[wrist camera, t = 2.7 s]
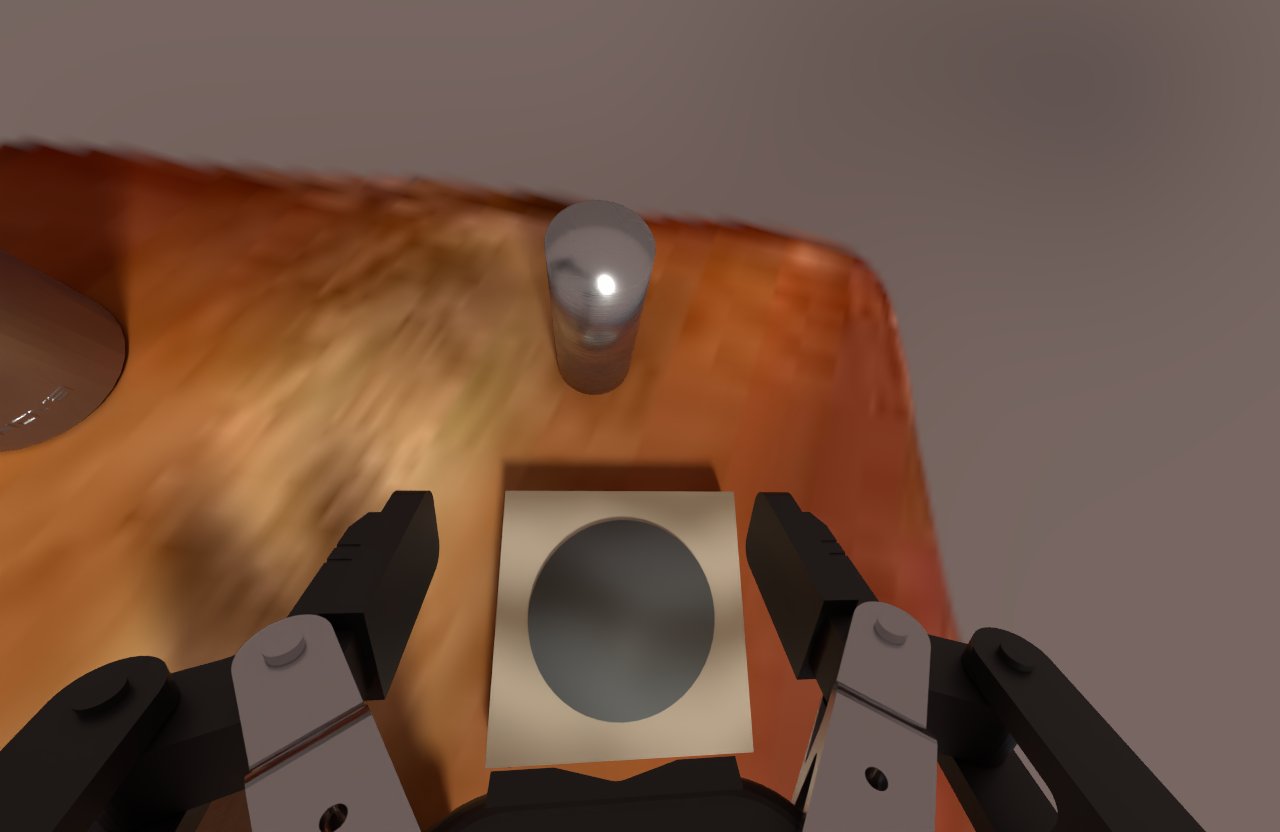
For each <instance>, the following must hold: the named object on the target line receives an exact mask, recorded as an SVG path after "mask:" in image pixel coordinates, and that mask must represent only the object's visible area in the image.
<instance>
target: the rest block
mask: <svg viewBox="0 0 1280 832" xmlns="http://www.w3.org/2000/svg"><path fill="white" fill-rule="evenodd" d="M746 752H753V739H752V725H751V712H750V699H749V686H748V673H747V660H746V647H745V634H744V621H743V608H742V595H741V582H740V569H739V556H738V543H737V529H736V516H735V503H734V492H685V491H505V505H504V518H503V532H502V546H501V559H500V573H499V586H498V600H497V613H496V627H495V640H494V654H493V668H492V681H491V695H490V708H489V722H488V735H487V749H486V763H485V768H501V767H518V766H534V765H550V764H567V763H583V762H599V761H616V760H632V759H648V758H665V757H681V756H697V755H714V754H730V753H746Z"/></svg>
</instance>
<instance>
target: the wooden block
mask: <svg viewBox="0 0 1280 832" xmlns="http://www.w3.org/2000/svg"><path fill="white" fill-rule="evenodd" d="M195 832H252V827H251V821H250V815H249V810H248V804H247V798H246V792H245V790H242V791H239V792H236V793H234V794H231V795H228V796H225V797H223V798H220V799H217V800H214V801H212V802H211V804H210V806H209V808H208V810H207V811H206V813H205V815H204V817H203V819H202V820H201V822H200V824H199V826H198V828H197V830H196V831H195Z"/></svg>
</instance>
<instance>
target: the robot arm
mask: <svg viewBox="0 0 1280 832" xmlns="http://www.w3.org/2000/svg"><path fill="white" fill-rule="evenodd" d="M124 359H125V339H124V336H123V333H122V330H121V327H120V325H119V324H118V322H117V321H116V319H115V318H114V316H113V315H112V314H111V313H110V312H109V311H107V310H106V309H105V308H104V307H103V306H101V305H100V304H98V303H96V302H95V301H93V300H91V299H89V298H87V297H86V296H84V295H82V294H80V293H79V292H77V291H75V290H73V289H71V288H70V287H68V286H66V285H64V284H62V283H61V282H59V281H57V280H55V279H53V278H52V277H50V276H48V275H46V274H45V273H43V272H41V271H39V270H37V269H36V268H34V267H32V266H30V265H28V264H27V263H25V262H23V261H22V260H20V259H18V258H16V257H15V256H13V255H11V254H9V253H8V252H6V251H4V250H2V249H0V452H2V451H10V450H18V449H21V448H25V447H28V446H32V445H35V444H39V443H42V442H44V441H46V440H49V439H51V438H53V437H55V436H57V435H60V434H62V433H64V432H65V431H67V430H68V429H70V428H71V427H73V426H75V425H76V424H78V423H79V422H81V421H82V420H84V419H85V418H86V417H87V416H88V415H89V414H90V413H91V412H93V411H94V410H95V409H96V408H97V407H98V406H99V405H100V404H101V403H102V401H103V400H104V399H105V398H106V396H107V395H108V394H109V393H110V391H111V390H112V389H113V387H114V385H115V383H116V381H117V379H118V377H119V375H120V373H121V370H122V366H123V362H124ZM836 541H837V540H836V539H835V537H834V536H833V534H832V533H831V532H830V530H829V529H828V527H827V526H826V525H825V524H824V523H823V522H821V521H820V520H819V519H818V518H816V517H815V516H814V515H812V514H811V513H810V512H802V511H801V509H800V508H799V506H798V505H797V503H796V502H795V500H794V498H793V497H792V496H791V494H790V493H788V492H759V493H758V494H757V496H756V498H755V502H754V507H753V511H752V516H751V520H750V525H749V529H748V534H747V538H746V556H747V561H748V564H749V566H750V569H751V571H752V574H753V576H754V578H755V581H756V583H757V585H758V588H759V590H760V593H761V595H762V597H763V600H764V602H765V604H766V607H767V609H768V612H769V614H770V616H771V619H772V621H773V624H774V626H775V628H776V631H777V633H778V635H779V638H780V640H781V643H782V645H783V647H784V650H785V652H786V655H787V657H788V659H789V662H790V664H791V666H792V669H793V671H794V674H795V676H796V678H797V680H801V679H816V680H817V682H818V684H819V686H820V689H821V691H822V693H823V694H822V697H821V700H820V703H819V707H818V710H817V714H816V717H815V721H814V725H813V728H812V732H811V735H810V739H809V743H808V746H807V750H806V753H805V757H804V761H803V764H802V768H801V771H800V775H799V778H798V781H797V784H796V787H795V790H794V793H793V796H792V799H791V802H790V801H789V800H787V799H786V798H784V797H783V796H781V795H780V794H778V793H777V792H775V791H773V790H771V789H769V788H767V787H765V786H764V785H762V784H759V783H756V782H754V781H751V780H748V779H745V778H741V777H740V774H739V770H738V766H737V762H736V758H735V756H729V757H713V758H697V759H682V760H676V761H673V762H671V763H668V764H665V765H663V766H660V767H657V768H655V769H652V770H649V771H647V772H644V773H641V774H639V775H636V776H634V777H631V778H628V779H626V780H622V781H609V780H605V779H601V778H596V777H592V776H588V775H583V774H579V773H575V772H570V771H566V770H562V769H558V768H540V769H525V770H509V771H493V772H491V774H490V781H489V787H488V793H487V794H485V795H483V796H480V797H477V798H475V799H473V800H471V801H469V802H467V803H465V804H463V805H461V806H459V807H458V808H456V809H455V810H453V811H452V812H450V813H449V814H447V815H446V816H444V817H443V818H442V819H440V820H439V821H438V822H437V823H435V824H434V825H433V826H432V827H430V828H429V829H428V830H427V831H426V832H935V803H936V775H937V761H938V763H939V765H940V767H941V769H942V771H943V772H944V774H945V776H946V778H947V780H948V782H949V783H950V785H951V787H952V789H953V791H954V792H955V794H956V796H957V798H958V800H959V802H960V803H961V805H962V807H963V809H964V811H965V812H966V814H967V816H968V818H969V820H970V822H971V823H972V825H973V827H974V829H975V831H976V832H1206V831H1205V830H1204V829H1203V828H1202V827H1201V826H1200V825H1199V824H1198V823H1197V822H1196V820H1195V819H1194V818H1193V817H1192V816H1191V815H1190V814H1189V813H1188V812H1187V811H1186V809H1184V807H1183V806H1182V805H1181V804H1180V803H1179V802H1178V801H1177V799H1176V798H1175V797H1174V796H1173V795H1172V794H1171V793H1170V792H1169V790H1168V789H1167V788H1166V787H1165V786H1164V785H1163V784H1162V783H1161V782H1160V781H1159V780H1158V778H1157V777H1156V776H1155V775H1154V774H1153V773H1152V772H1151V771H1150V769H1149V768H1148V767H1147V766H1146V765H1145V764H1144V763H1143V762H1142V761H1141V759H1139V757H1138V756H1137V755H1136V754H1135V753H1134V752H1133V751H1132V750H1131V748H1130V747H1129V746H1128V745H1127V744H1126V743H1125V742H1124V741H1123V740H1122V738H1121V737H1120V736H1119V735H1118V734H1117V733H1116V732H1115V731H1114V730H1113V728H1112V727H1111V726H1110V725H1109V724H1108V723H1107V722H1106V721H1105V720H1104V718H1103V717H1102V716H1101V715H1100V714H1099V713H1098V712H1097V711H1096V710H1095V709H1094V708H1093V706H1092V705H1091V704H1090V703H1089V702H1088V701H1087V700H1086V699H1085V698H1084V696H1083V695H1082V694H1081V693H1080V692H1079V691H1078V690H1077V689H1076V687H1075V686H1074V685H1073V684H1072V683H1071V682H1070V681H1069V680H1068V679H1067V678H1066V676H1065V675H1064V674H1063V673H1062V672H1061V671H1060V670H1059V669H1058V668H1057V667H1056V665H1055V664H1054V663H1053V662H1052V661H1051V660H1050V659H1049V658H1048V657H1047V656H1046V655H1045V654H1044V653H1043V652H1042V651H1041V650H1040V649H1038V648H1037V647H1035V646H1034V645H1033V644H1031V643H1030V642H1028V641H1026V640H1025V639H1023V638H1022V637H1020V636H1018V635H1016V634H1013V633H1011V632H1008V631H1005V630H1002V629H998V628H990V627H988V628H981V629H979V630H977V631H976V632H975V633H974V634H973V636H972V638H971V640H970V641H969V643H968V644H965V643H961V642H957V641H953V640H949V639H945V638H941V637H936V636H932V635H928V634H927V633H926V631H925V630H924V628H923V627H922V626H921V625H920V624H919V623H918V622H917V621H916V620H915V619H914V618H913V617H912V616H910V615H909V614H908V613H906V612H904V611H903V610H901V609H899V608H897V607H895V606H892V605H890V604H886V603H882V602H879V601H878V599H877V598H876V597H875V595H874V594H873V592H872V591H871V589H870V588H869V586H868V585H867V584H866V582H865V581H864V579H863V578H862V576H861V575H860V573H859V572H858V571H857V569H856V568H855V566H854V565H853V563H852V562H851V560H850V559H849V558H848V556H845V552H844V550H843V549H842V547H841V546H840V545H839V543H837V542H836ZM438 557H439V537H438V529H437V522H436V515H435V507H434V500H433V495H432V493H431V492H430V491H395V492H394V493H393V494H392V495H391V497H390V499H389V500H388V502H387V503H386V505H385V507H384V508H383V510H382V511H381V512H369V513H367V514H366V515H365V516H363V517H362V518H360V519H359V520H358V521H356V522H355V523H354V524H352V525H351V526H350V527H349V528H348V529H347V531H346V532H345V534H344V535H343V536H342V538H341V539H340V541H339V542H338V544H337V548H334V550H333V551H332V553H331V554H330V555H329V557H328V558H327V563H324V564H323V566H322V567H321V569H320V570H319V571H318V573H317V574H316V576H315V577H314V579H313V580H312V582H311V583H310V585H309V586H308V587H307V589H306V590H305V592H304V593H303V595H302V596H301V598H300V599H299V601H298V602H297V603H296V605H295V606H294V608H293V609H292V611H291V612H290V614H289V615H288V617H287V618H285V619H282V620H279V621H277V622H275V623H273V624H271V625H268V626H267V627H265V628H263V629H262V630H260V631H259V632H257V633H256V634H255V635H253V636H252V637H251V638H250V639H249V640H247V641H246V642H245V643H244V645H243V646H242V647H241V648H240V649H239V651H238V652H237V654H236V655H234V656H232V657H229V658H226V659H222V660H219V661H215V662H212V663H208V664H204V665H200V666H197V667H193V668H189V669H186V670H182V671H178V672H175V673H170V671H169V670H168V668H167V666H166V664H165V662H163V661H162V660H161V659H159V658H156V657H152V656H136V657H130V658H125V659H121V660H118V661H115V662H112V663H109V664H106V665H104V666H102V667H99V668H97V669H95V670H93V671H91V672H89V673H87V674H85V675H83V676H82V677H80V678H78V679H77V680H75V681H74V682H72V683H71V684H69V685H68V686H66V687H65V688H63V689H62V690H61V691H60V692H58V693H57V694H56V695H55V696H54V697H53V698H52V699H51V700H49V701H48V702H47V703H46V704H45V705H44V706H43V707H42V709H41V710H40V711H39V712H38V713H37V714H36V715H35V716H34V717H33V718H32V719H31V720H30V721H29V722H28V723H27V724H26V725H25V726H24V727H23V728H22V729H21V730H20V731H19V732H18V733H17V734H16V735H15V737H14V738H13V739H12V740H11V741H10V742H9V743H8V744H7V745H6V746H5V747H4V748H3V749H2V750H1V751H0V832H195V831H196V830H197V828H198V826H199V824H200V822H201V820H202V819H203V817H204V815H205V813H206V811H207V810H208V808H209V806H210V804H211V802H212V801H214V800H217V799H220V798H223V797H225V796H228V795H231V794H234V793H236V792H239V791H242V790H245V792H246V798H247V804H248V810H249V815H250V821H251V827H252V832H421V831H420V828H419V826H418V823H417V821H416V819H415V816H414V814H413V811H412V809H411V807H410V804H409V802H408V800H407V797H406V795H405V792H404V790H403V788H402V785H401V783H400V780H399V778H398V776H397V773H396V771H395V768H394V766H393V764H392V761H391V759H390V756H389V754H388V752H387V749H386V747H385V745H384V742H383V740H382V737H381V735H380V733H379V730H378V728H377V725H376V723H375V721H374V718H373V716H372V714H371V711H370V709H369V707H368V706H367V705H364V703H363V702H364V701H366V700H385V698H386V696H387V693H388V691H389V688H390V685H391V683H392V680H393V678H394V675H395V673H396V670H397V667H398V665H399V662H400V660H401V657H402V655H403V652H404V649H405V647H406V644H407V642H408V639H409V637H410V634H411V631H412V629H413V626H414V624H415V621H416V619H417V616H418V613H419V611H420V608H421V606H422V603H423V601H424V598H425V595H426V593H427V590H428V588H429V585H430V583H431V580H432V577H433V575H434V572H435V570H436V567H437V563H438ZM1016 744H1018V745H1019V746H1020V748H1021V749H1022V751H1023V752H1024V754H1025V755H1026V756H1027V758H1028V759H1029V760H1030V762H1031V763H1032V765H1033V766H1034V767H1035V769H1036V771H1037V772H1038V773H1039V775H1040V776H1041V778H1042V779H1043V780H1044V782H1045V783H1046V785H1047V786H1048V788H1049V789H1050V791H1051V793H1052V795H1053V797H1054V799H1055V802H1056V805H1057V810H1058V813H1057V812H1056V810H1055V809H1054V807H1053V806H1052V805H1051V803H1050V802H1049V800H1048V799H1047V798H1046V796H1045V795H1044V793H1043V792H1042V790H1041V789H1040V787H1039V786H1038V784H1037V783H1036V782H1035V780H1034V779H1033V777H1032V776H1031V775H1030V773H1029V771H1028V770H1027V769H1026V767H1025V766H1024V764H1023V763H1022V761H1021V760H1020V759H1019V757H1018V756H1017V754H1016V753H1015V751H1014V750H1013V749H1014V748H1015V746H1016Z"/></svg>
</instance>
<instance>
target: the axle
mask: <svg viewBox="0 0 1280 832" xmlns="http://www.w3.org/2000/svg"><path fill="white" fill-rule="evenodd" d="M544 245H545V255H546V264H547V273H548V282H549V290H550V299H551V308H552V317H553V326H554V334H555V343H556V352H557V361H558V368H559V371H560V374H561V376H562V378H563V379H564V380H565V382H566V383H567V384H568V385H569V386H571V387H572V388H573V389H575V390H577V391H579V392H581V393H585V394H590V395H598V394H604V393H607V392H610V391H612V390H614V389H615V388H617V387H618V386H619V385H620V384H621V383H622V382H623V381H624V379H625V378H626V376H627V373H628V370H629V366H630V362H631V357H632V353H633V349H634V344H635V340H636V336H637V331H638V327H639V323H640V318H641V314H642V310H643V305H644V301H645V297H646V292H647V288H648V284H649V279H650V275H651V271H652V266H653V262H654V257H655V242H654V238H653V235H652V233H651V231H650V229H649V227H648V226H647V224H646V223H645V222H644V220H643V219H642V218H641V217H640V216H639V215H637V214H636V213H635V212H633V211H632V210H630V209H629V208H627V207H625V206H622V205H620V204H617V203H614V202H609V201H603V200H590V201H583V202H579V203H576V204H573V205H571V206H569V207H567V208H565V209H564V210H562V211H561V212H560V213H559V214H557V215H556V216H555V218H554V219H553V220H552V221H551V223H550V225H549V226H548V229H547V231H546V235H545V242H544Z"/></svg>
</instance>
